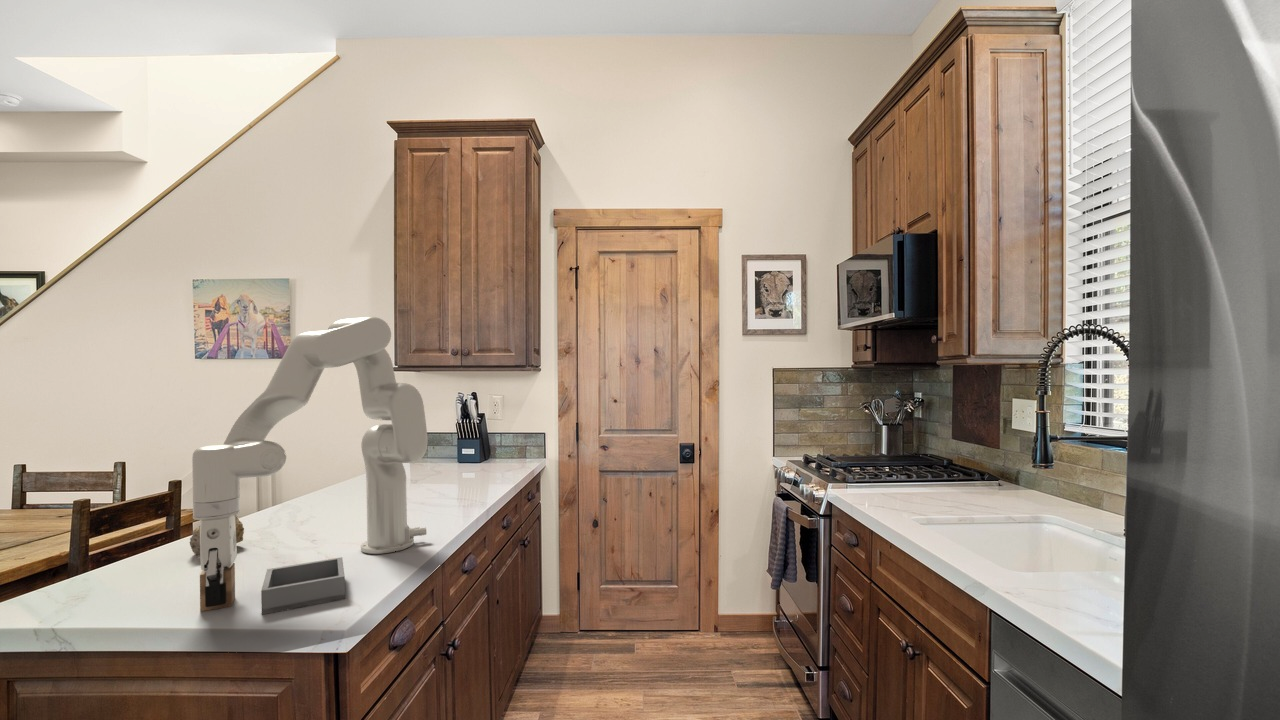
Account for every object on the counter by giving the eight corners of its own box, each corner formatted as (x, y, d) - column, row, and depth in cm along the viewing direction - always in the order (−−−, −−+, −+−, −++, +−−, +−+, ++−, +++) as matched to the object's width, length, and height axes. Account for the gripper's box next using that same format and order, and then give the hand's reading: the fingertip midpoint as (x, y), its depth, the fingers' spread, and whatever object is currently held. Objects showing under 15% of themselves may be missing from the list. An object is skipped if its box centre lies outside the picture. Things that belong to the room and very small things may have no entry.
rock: (256, 523, 154) (228, 502, 156) (211, 540, 142) (182, 518, 144) (241, 555, 156) (214, 535, 158) (196, 576, 144) (167, 553, 146)
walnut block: (235, 597, 118) (234, 562, 118) (231, 605, 114) (231, 570, 114) (204, 602, 116) (204, 567, 116) (200, 611, 111) (199, 574, 112)
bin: (342, 577, 128) (342, 557, 128) (345, 598, 116) (344, 576, 116) (267, 590, 121) (267, 569, 121) (261, 614, 109) (261, 590, 109)
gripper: (234, 514, 109) (235, 611, 109) (244, 497, 124) (245, 583, 124) (184, 520, 106) (185, 620, 106) (201, 502, 121) (202, 590, 120)
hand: (218, 599), depth 115 cm, fingers closed on walnut block, 5 cm apart
